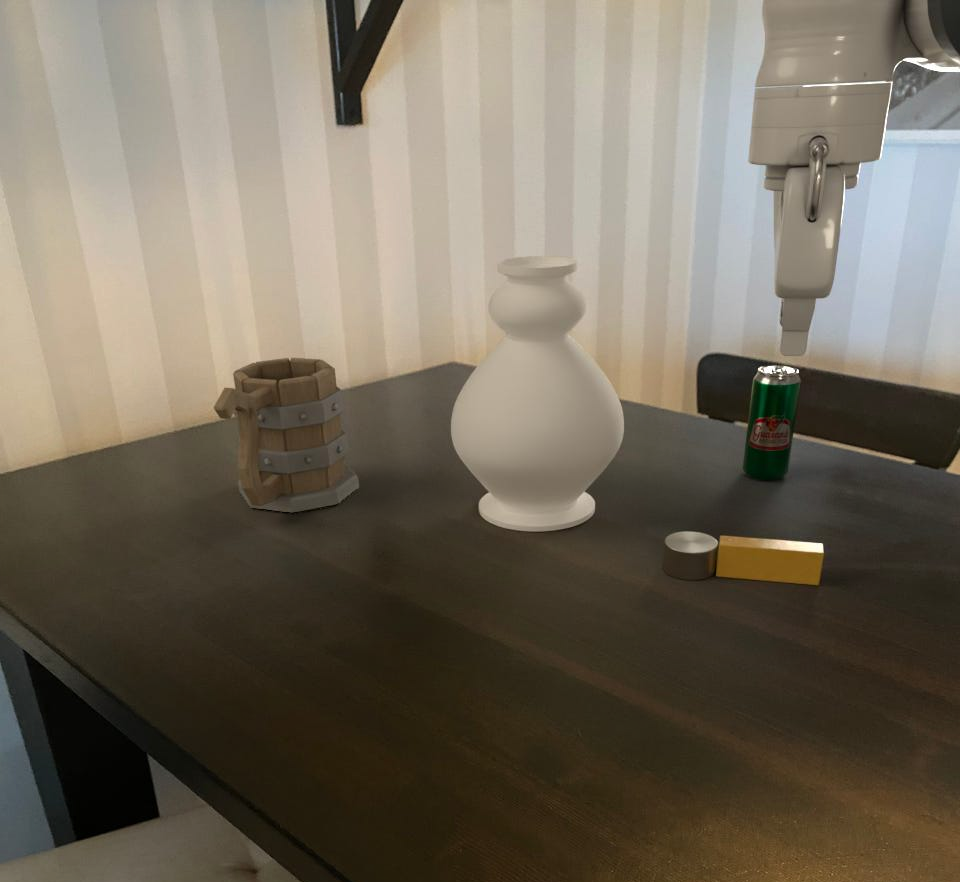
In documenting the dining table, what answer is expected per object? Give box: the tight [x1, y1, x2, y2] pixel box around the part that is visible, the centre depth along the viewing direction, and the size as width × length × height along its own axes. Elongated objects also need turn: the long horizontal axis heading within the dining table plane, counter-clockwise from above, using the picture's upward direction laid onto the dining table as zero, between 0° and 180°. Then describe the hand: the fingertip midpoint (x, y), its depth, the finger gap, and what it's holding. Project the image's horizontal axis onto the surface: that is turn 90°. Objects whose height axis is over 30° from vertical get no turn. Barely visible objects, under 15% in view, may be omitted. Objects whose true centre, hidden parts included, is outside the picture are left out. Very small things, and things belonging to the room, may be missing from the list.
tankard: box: [213, 357, 360, 513], centre depth 100 cm, size 20×13×15 cm, turn 161°
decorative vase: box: [450, 255, 625, 533], centre depth 94 cm, size 18×18×25 cm
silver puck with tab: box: [662, 531, 825, 586], centre depth 85 cm, size 14×5×3 cm, turn 75°
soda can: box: [742, 364, 802, 482], centre depth 105 cm, size 5×5×12 cm
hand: (791, 339), depth 71 cm, fingers open, 8 cm apart
